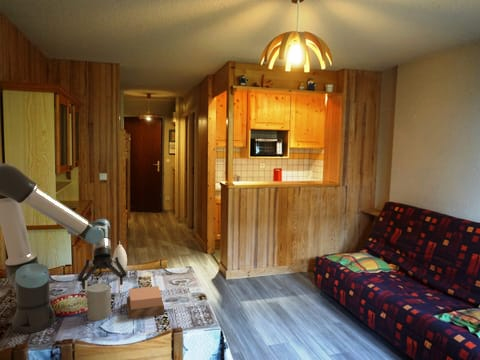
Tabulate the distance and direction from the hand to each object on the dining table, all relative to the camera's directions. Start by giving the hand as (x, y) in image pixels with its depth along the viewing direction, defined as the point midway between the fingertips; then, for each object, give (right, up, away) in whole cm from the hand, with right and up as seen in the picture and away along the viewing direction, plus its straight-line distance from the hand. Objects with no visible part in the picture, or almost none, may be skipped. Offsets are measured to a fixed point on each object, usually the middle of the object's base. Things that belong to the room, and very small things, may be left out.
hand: (102, 294), depth 160 cm
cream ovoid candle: (-9, -3, +50) cm, 50 cm away
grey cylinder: (-1, -9, -2) cm, 9 cm away
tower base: (+17, -9, +5) cm, 20 cm away
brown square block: (+17, -5, +4) cm, 18 cm away
